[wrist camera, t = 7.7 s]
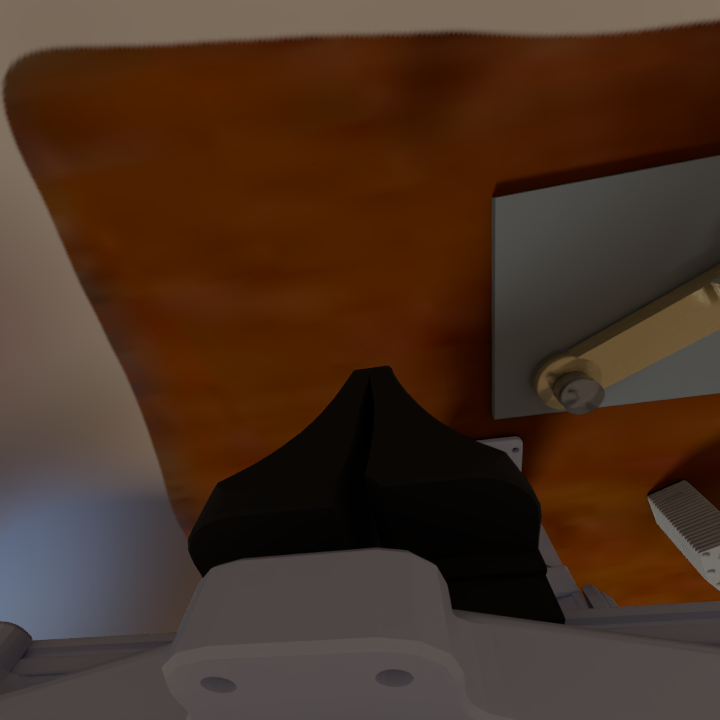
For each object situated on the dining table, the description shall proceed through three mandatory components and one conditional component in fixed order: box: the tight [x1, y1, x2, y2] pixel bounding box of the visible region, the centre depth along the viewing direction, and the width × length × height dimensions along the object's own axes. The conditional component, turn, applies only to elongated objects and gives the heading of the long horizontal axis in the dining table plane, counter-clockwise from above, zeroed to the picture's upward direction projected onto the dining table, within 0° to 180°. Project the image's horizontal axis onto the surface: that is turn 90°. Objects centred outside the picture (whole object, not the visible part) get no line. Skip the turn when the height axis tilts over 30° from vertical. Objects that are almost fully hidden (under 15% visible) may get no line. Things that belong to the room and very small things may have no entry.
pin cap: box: [553, 371, 605, 415], centre depth 19 cm, size 2×2×1 cm
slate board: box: [492, 155, 720, 420], centre depth 19 cm, size 14×16×1 cm
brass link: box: [532, 264, 720, 409], centre depth 19 cm, size 12×4×1 cm, turn 128°
